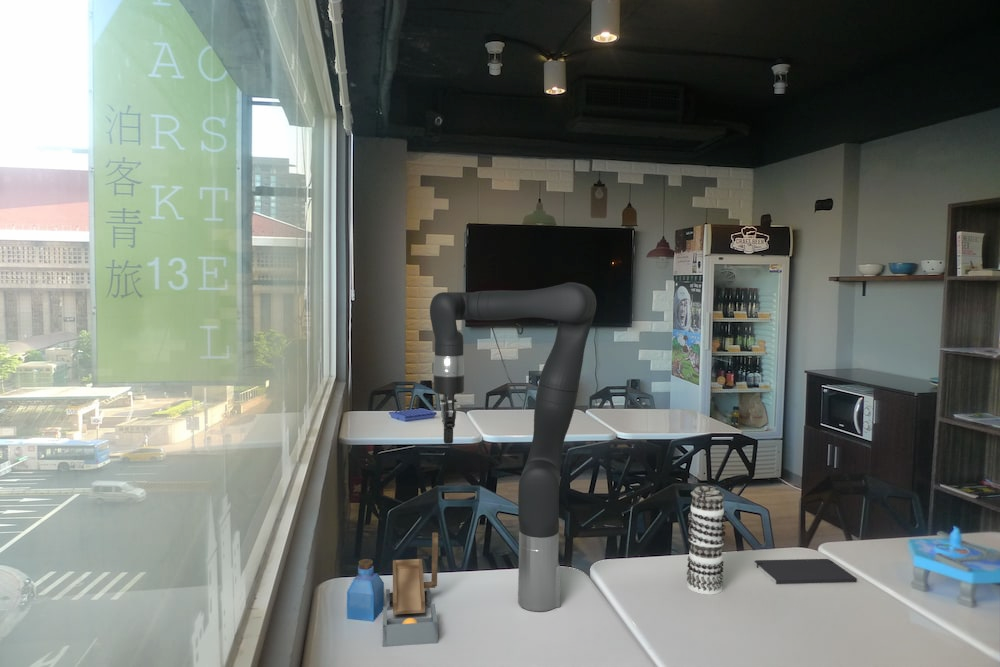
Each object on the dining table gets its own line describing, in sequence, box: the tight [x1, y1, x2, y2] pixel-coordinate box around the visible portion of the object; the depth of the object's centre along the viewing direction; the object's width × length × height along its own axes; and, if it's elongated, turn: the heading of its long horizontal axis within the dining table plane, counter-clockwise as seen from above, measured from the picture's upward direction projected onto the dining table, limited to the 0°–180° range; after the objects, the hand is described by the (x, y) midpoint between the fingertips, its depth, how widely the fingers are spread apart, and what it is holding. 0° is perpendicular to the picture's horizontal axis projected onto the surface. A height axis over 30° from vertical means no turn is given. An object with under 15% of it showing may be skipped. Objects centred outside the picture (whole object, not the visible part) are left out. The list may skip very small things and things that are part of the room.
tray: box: [382, 603, 439, 648], centre depth 145 cm, size 11×10×4 cm
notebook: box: [754, 558, 858, 585], centre depth 180 cm, size 13×2×21 cm
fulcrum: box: [385, 588, 431, 611], centre depth 159 cm, size 10×5×3 cm, turn 99°
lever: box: [392, 532, 439, 616], centre depth 157 cm, size 10×17×14 cm, turn 9°
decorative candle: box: [686, 485, 728, 596], centre depth 169 cm, size 9×9×25 cm
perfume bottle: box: [346, 558, 385, 623], centre depth 154 cm, size 6×6×12 cm
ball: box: [402, 617, 418, 624], centre depth 144 cm, size 4×4×4 cm
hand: (448, 442), depth 170 cm, fingers closed
